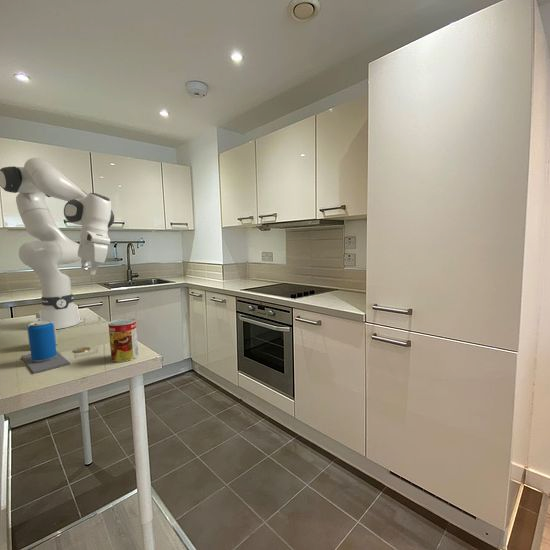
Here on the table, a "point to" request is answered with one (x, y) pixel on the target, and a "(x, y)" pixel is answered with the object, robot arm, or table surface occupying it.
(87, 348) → the tan flat disc
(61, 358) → the charcoal mat
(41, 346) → the beverage can
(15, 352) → the table surface
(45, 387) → the table surface
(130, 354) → the canned food
